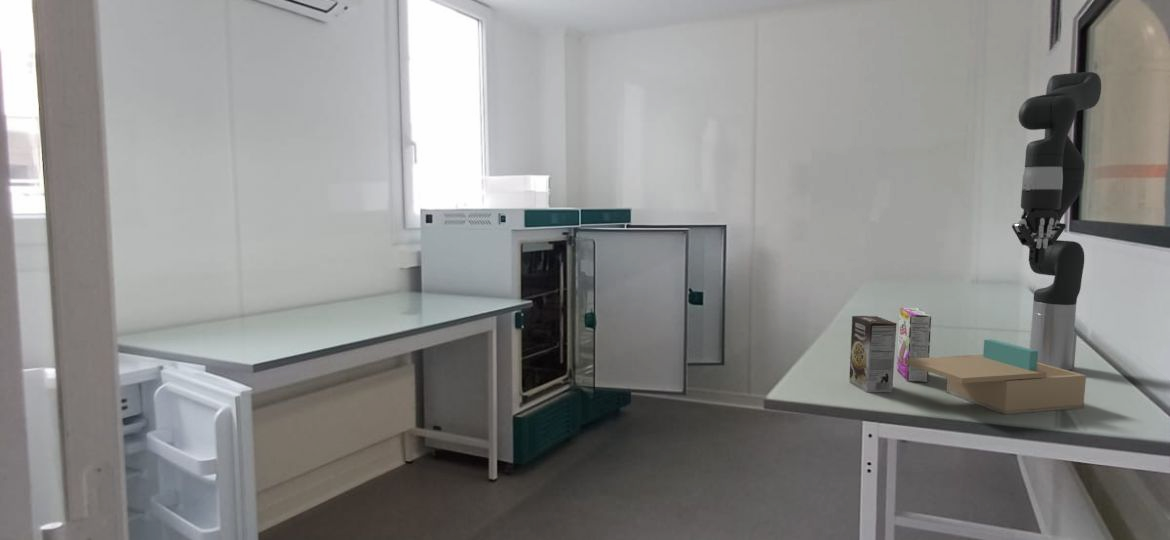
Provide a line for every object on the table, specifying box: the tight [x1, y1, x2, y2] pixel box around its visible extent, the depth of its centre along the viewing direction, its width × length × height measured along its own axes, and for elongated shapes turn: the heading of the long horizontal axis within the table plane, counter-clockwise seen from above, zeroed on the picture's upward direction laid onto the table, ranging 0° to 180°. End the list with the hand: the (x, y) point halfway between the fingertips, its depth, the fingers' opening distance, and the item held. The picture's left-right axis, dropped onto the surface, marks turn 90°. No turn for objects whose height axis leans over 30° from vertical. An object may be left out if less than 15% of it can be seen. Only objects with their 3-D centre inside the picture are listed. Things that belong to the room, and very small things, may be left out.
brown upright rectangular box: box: [848, 315, 897, 393], centre depth 159 cm, size 9×6×16 cm
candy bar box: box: [896, 307, 932, 383], centre depth 168 cm, size 11×5×16 cm, turn 168°
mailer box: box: [946, 362, 1087, 415], centre depth 149 cm, size 20×16×7 cm
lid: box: [905, 338, 1046, 383], centre depth 146 cm, size 21×17×5 cm
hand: (1035, 264), depth 155 cm, fingers closed
